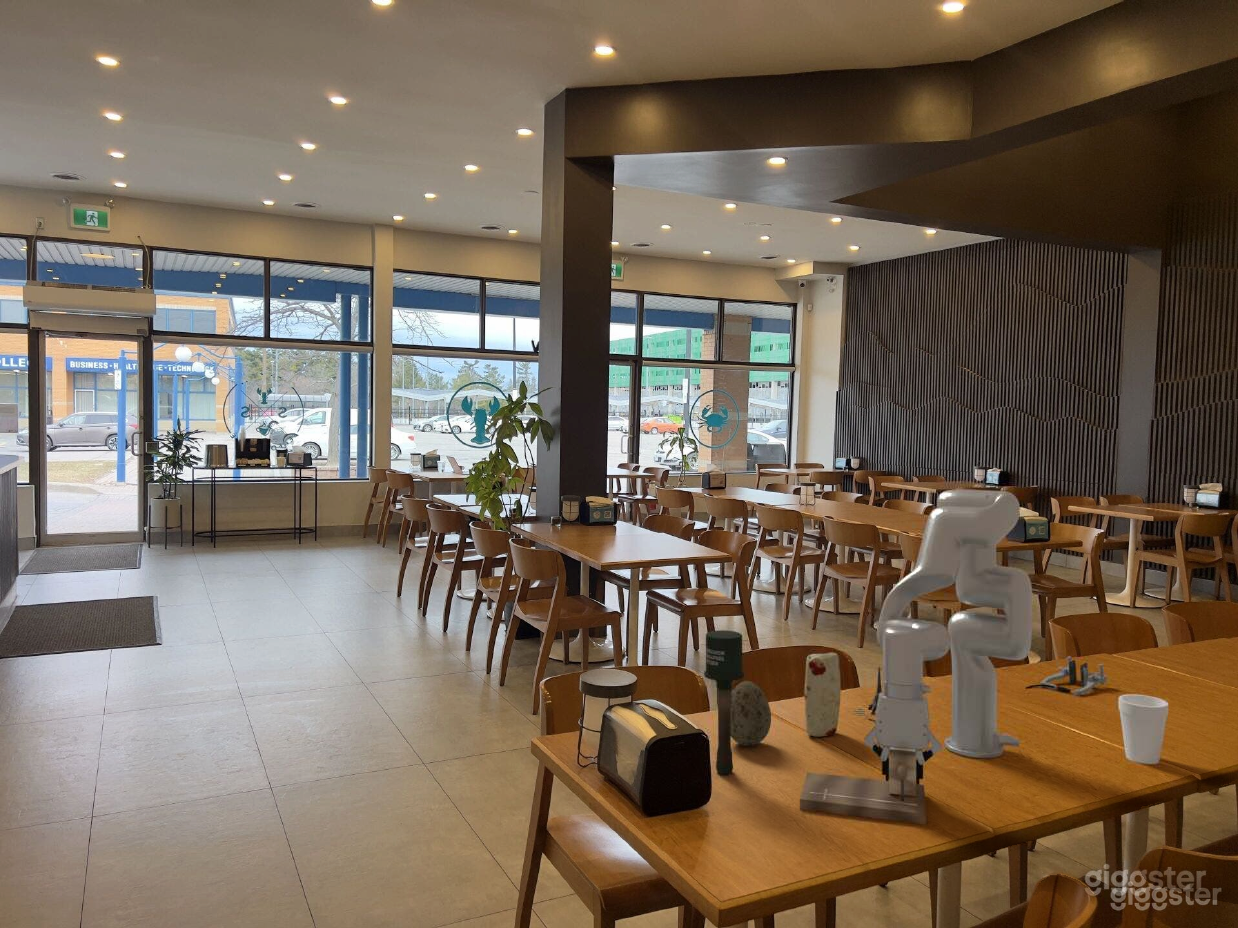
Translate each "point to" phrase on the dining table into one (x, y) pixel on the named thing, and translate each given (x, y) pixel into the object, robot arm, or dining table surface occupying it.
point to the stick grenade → (724, 686)
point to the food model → (822, 694)
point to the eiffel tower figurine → (875, 700)
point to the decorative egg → (749, 714)
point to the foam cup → (1143, 726)
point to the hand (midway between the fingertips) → (902, 779)
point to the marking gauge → (902, 772)
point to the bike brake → (1075, 678)
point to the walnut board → (861, 798)
